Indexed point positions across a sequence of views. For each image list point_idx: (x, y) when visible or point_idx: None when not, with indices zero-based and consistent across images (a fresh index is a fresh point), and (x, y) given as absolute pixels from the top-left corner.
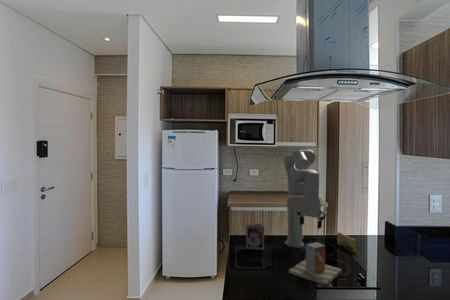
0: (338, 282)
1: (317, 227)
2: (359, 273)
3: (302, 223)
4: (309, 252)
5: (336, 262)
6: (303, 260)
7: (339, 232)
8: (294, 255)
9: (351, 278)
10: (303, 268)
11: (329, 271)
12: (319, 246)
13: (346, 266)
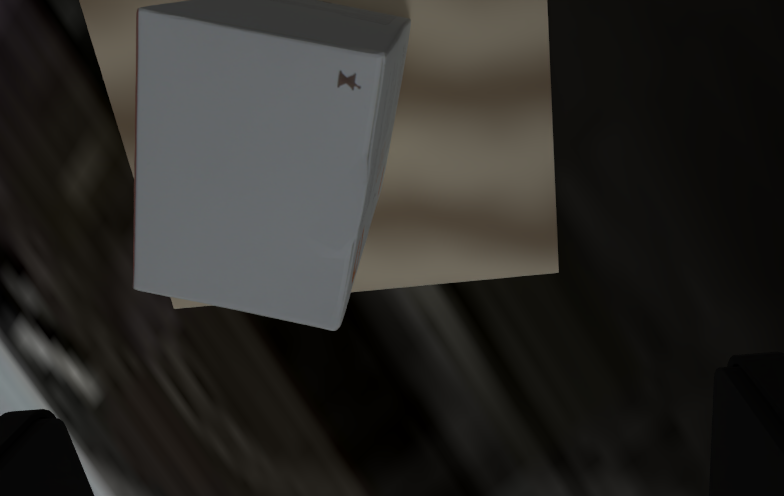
0: (55, 66)
1: (33, 431)
2: (84, 379)
3: (728, 457)
4: (309, 19)
5: (332, 443)
6: (554, 212)
7: None
8: (733, 307)
9: (54, 241)
10: (431, 7)
11: None
12: (154, 163)
13: (230, 428)
